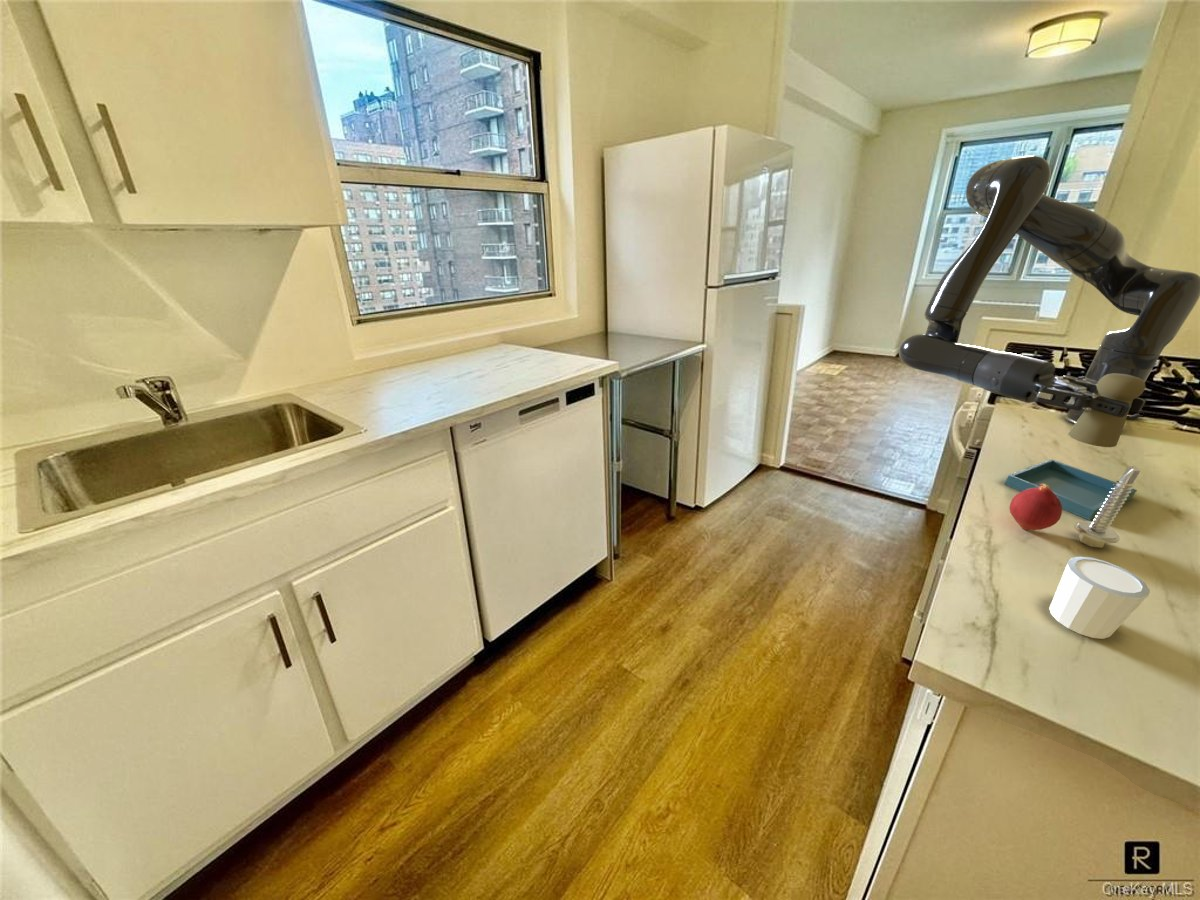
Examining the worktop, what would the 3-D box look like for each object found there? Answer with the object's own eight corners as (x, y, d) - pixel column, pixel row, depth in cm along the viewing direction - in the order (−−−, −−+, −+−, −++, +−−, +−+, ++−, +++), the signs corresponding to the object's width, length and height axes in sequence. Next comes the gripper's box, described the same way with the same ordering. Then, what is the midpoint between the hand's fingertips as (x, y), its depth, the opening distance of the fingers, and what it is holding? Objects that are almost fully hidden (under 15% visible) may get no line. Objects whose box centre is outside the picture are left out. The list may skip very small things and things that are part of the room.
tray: (1046, 467, 92) (1051, 458, 91) (1131, 499, 82) (1137, 489, 81) (1004, 484, 86) (1008, 475, 85) (1089, 520, 76) (1095, 510, 75)
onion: (1039, 522, 76) (1062, 478, 72) (1057, 544, 71) (1082, 498, 67) (996, 515, 77) (1016, 472, 74) (1010, 536, 73) (1032, 490, 69)
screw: (1102, 556, 68) (1061, 537, 72) (1119, 547, 70) (1079, 529, 74) (1150, 477, 62) (1103, 461, 66) (1168, 470, 64) (1121, 454, 68)
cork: (1126, 449, 77) (1165, 383, 72) (1082, 445, 78) (1117, 380, 73) (1100, 433, 82) (1134, 371, 77) (1059, 429, 83) (1090, 368, 78)
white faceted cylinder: (1028, 600, 61) (1052, 557, 57) (1078, 597, 61) (1104, 554, 58) (1080, 645, 55) (1111, 599, 51) (1135, 641, 55) (1169, 595, 52)
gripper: (997, 360, 84) (1125, 392, 70) (1042, 351, 89) (1168, 379, 76) (981, 400, 87) (1100, 438, 74) (1025, 389, 93) (1143, 423, 79)
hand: (1134, 408), depth 75 cm, fingers closed on cork, 4 cm apart
